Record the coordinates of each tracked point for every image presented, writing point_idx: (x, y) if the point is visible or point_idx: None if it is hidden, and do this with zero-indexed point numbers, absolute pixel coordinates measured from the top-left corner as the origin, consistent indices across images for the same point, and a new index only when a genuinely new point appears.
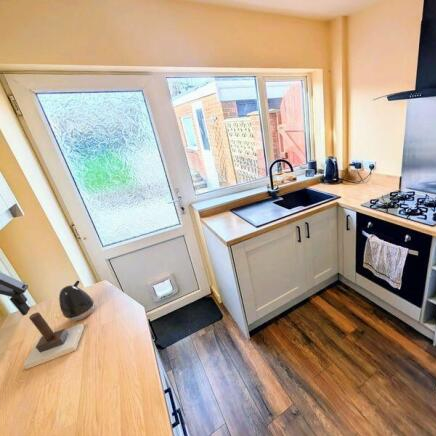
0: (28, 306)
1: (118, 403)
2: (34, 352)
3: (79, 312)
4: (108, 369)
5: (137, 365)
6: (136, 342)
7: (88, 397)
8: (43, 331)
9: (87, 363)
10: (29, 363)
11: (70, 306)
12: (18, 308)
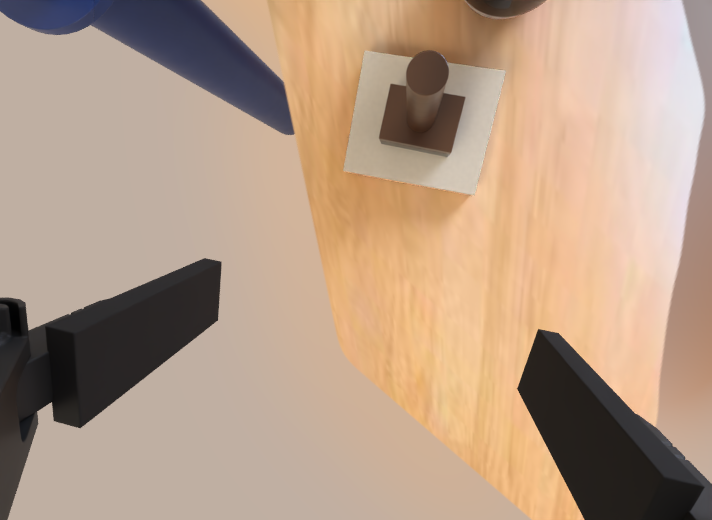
0: (566, 345)
1: (555, 472)
2: (365, 127)
3: (519, 8)
4: None
5: None
6: (644, 311)
7: (496, 403)
8: (421, 121)
9: (500, 284)
10: (358, 173)
11: None
12: (551, 443)
